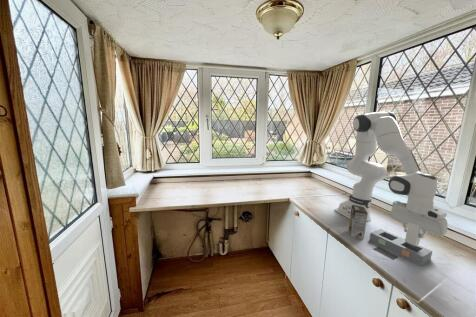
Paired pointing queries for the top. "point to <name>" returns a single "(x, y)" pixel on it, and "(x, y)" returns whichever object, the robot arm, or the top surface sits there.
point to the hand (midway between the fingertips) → (413, 234)
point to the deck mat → (385, 253)
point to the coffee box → (357, 222)
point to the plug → (413, 234)
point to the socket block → (401, 246)
